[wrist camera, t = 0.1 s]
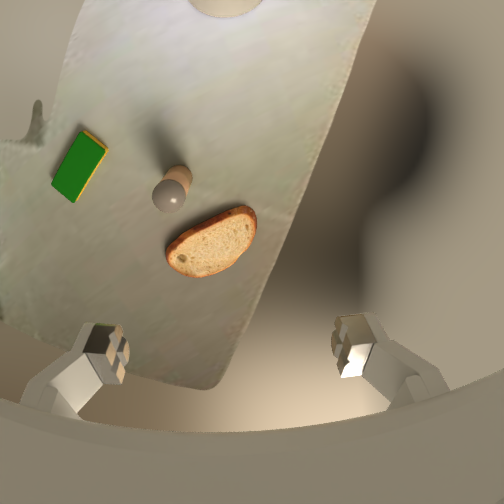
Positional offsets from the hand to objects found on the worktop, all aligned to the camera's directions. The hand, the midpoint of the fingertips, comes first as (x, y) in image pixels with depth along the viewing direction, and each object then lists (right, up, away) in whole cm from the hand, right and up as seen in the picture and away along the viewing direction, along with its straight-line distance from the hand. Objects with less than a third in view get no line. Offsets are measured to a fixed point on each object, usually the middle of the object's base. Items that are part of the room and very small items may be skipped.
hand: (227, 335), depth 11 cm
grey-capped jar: (-13, +17, +45) cm, 50 cm away
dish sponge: (-34, +21, +42) cm, 58 cm away
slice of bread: (-8, +6, +52) cm, 53 cm away
